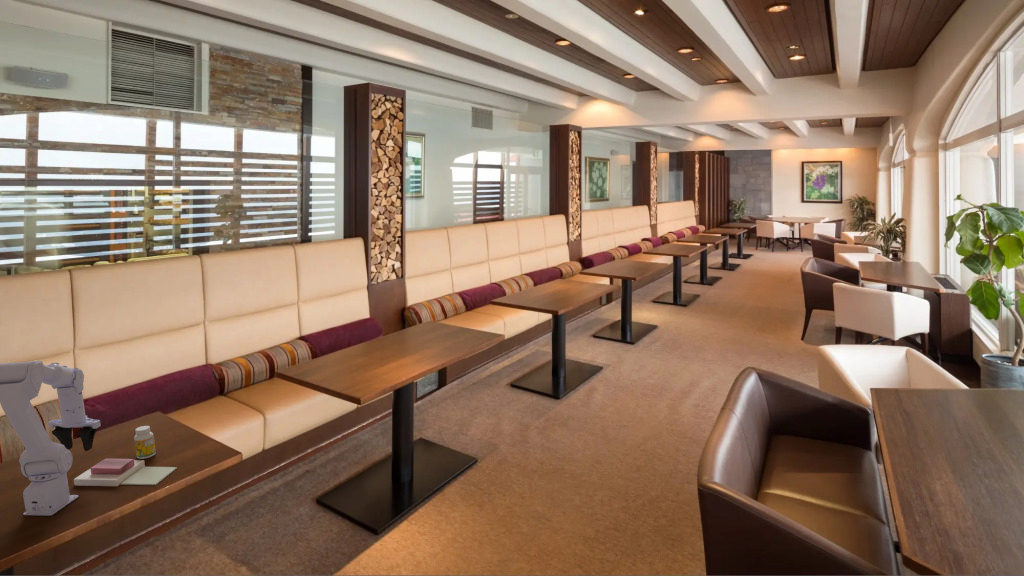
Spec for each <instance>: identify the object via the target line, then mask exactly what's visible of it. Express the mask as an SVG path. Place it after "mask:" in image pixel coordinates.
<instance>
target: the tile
mask: <svg viewBox="0 0 1024 576" xmlns="http://www.w3.org/2000/svg"><path fill="white" fill-rule="evenodd" d="M134 460H135V459H134V458H103V460H101V461H99V462H98V463H96V464H95V465H93V466H91V467H90V468H89V469H91V474H104V475H121V474H122V473H124V472H125V471H127V470H128V469H129V468H131V467H132V466H134Z"/></svg>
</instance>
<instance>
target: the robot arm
mask: <svg viewBox="0 0 1024 576" xmlns="http://www.w3.org/2000/svg"><path fill="white" fill-rule="evenodd" d="M84 382H85V373H84V372H83V370H82V369H80V368H78V367H73V368H72V367H71V368H70V367H68V366H67V365H60V363H59V362H51V363H50V364H47V365H46V364H44V362H43V361H42V360H32V361H21V362H20V361H18V362H6V363H5V362H4V363H0V406H1V408H2V410H3V413H4V414H5V416H6V417H7V419H8V421H9V422H10V424H11V426H12V428H13V430H14V432H15V433H16V435H17V437H18V438H19V440H20V442H21V444H22V445H23V447H24V450H23V451H22V453H21V455H20V457H19V460H18V462H19V464H20V470H21V474H22V475H23V476H24V477H26V478H28V481H31V482H30V483H29V485H27V486H26V487H25V488H24V489H23V493H22V497H23V503H24V508H25V511H24V512H23V515H24V516H45V517H46V516H49V517H50V516H53V515H54V514H56V513H57V512H58V511H61V510H62V509H63V508H65V507H66V506H67V505H69V504H70V503H72V502H74V501H75V500H77V499H78V498H79V495H78V494H70V488H69V481H68V476H67V475H68V474H67V472H68V471H69V470H71V469H72V468H71V467H72V465H73V460H74V459H73V453H72V452H71V451H70V450H71V449H73V446H74V445H73V428H81V429H80V430H78V431H77V434H78V436H79V438H80V440H81V443H82V446H83V450H84V451H85V452H88V451H90V450H92V449H93V443H94V439H95V435H96V433H97V431H98V430H99V429H98V428H100V427H101V420H100V419H93V418H90V417H88V415H86V409H85V403H84V397H83V391H84ZM43 384H45V385H49V386H51V388H52V389H53V390H56V393H57V398H58V400H57V401H58V406H59V411H60V413H59V414H60V419H59V418H57V419H56V418H55V419H52V420H50V421H48V422H47V423H48V428H49V429H53V428H54V429H53V430H52V431H51V434H52V435H53V436H55V438H56V439H58V441H59V442H56V441H52V440H51V438H50V437H49V434H48V433H47V431H46V428H45V427H44V425H43V423H42V421H41V419H40V417H39V415H38V414H37V412H36V410H35V408H34V406H33V404H32V402H31V401H32V400H33V399H35V398H36V397H38V396H39V394H40V390H41V387H42V385H43Z"/></svg>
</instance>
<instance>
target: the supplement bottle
mask: <svg viewBox="0 0 1024 576" xmlns="http://www.w3.org/2000/svg"><path fill="white" fill-rule="evenodd" d="M134 431H135V435H134V437H133V441H134V442H133V443H134V448H135V455H136V456H135V457H136V458H137V459H138V460H144V459H149V458H151V457H153V456H155V455H156V454H157V453H156V444H155V443H156V441H155V436H154V433H153V432H152V431H151V426H150V425H141V426H138V427H137V428H135V430H134Z"/></svg>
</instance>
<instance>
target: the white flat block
mask: <svg viewBox="0 0 1024 576" xmlns="http://www.w3.org/2000/svg"><path fill="white" fill-rule="evenodd" d="M145 463H146V462H145V460H144V459H134V466H132V467H131V468H129V469H128V470H127V471H125V472H124V473H122V474H121V475H104V474H91V469H90V468H89V469H87V470H86V471H84V472H83V473H81V474H80V475H78V476H76V477H74V478H73V485H74V486H80V487H81V486H82V487H83V486H85V487H89V486H90V487H118V486H121V484H120V483H122V482H123V481H124V480H126V479H127V478H128V477H130V476H131V475H133V474H134V473H135V472H137V471H138V470H140V469H141V468H142V467H146V465H145Z"/></svg>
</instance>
